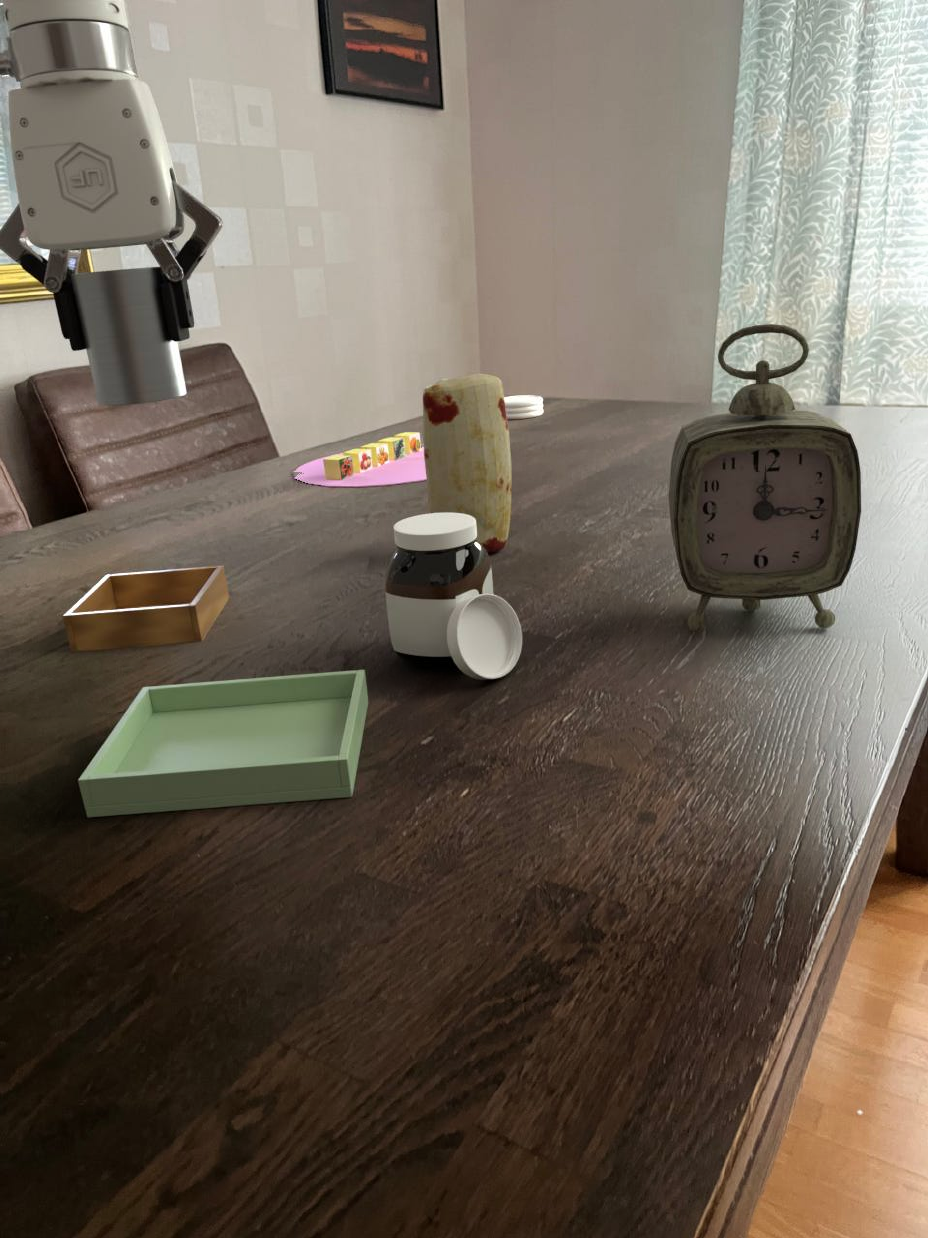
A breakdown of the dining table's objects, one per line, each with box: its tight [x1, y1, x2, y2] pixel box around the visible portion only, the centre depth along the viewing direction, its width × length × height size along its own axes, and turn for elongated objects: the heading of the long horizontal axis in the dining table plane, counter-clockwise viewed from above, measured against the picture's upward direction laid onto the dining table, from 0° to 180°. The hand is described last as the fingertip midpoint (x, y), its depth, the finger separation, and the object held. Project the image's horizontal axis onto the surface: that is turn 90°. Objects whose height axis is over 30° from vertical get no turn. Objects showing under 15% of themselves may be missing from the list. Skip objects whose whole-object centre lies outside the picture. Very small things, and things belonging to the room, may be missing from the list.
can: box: [70, 266, 188, 407], centre depth 70 cm, size 6×6×9 cm
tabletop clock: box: [668, 323, 862, 632], centre depth 81 cm, size 14×9×25 cm, turn 82°
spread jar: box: [384, 512, 523, 681], centre depth 80 cm, size 12×11×12 cm
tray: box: [77, 669, 369, 818], centre depth 68 cm, size 17×14×3 cm
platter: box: [293, 431, 427, 488], centre depth 162 cm, size 32×32×3 cm
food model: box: [422, 373, 513, 554], centre depth 107 cm, size 10×7×20 cm
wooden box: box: [62, 564, 230, 653], centre depth 94 cm, size 12×12×4 cm
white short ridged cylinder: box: [504, 394, 544, 420], centre depth 199 cm, size 10×10×4 cm
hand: (131, 342), depth 70 cm, fingers closed on can, 6 cm apart
